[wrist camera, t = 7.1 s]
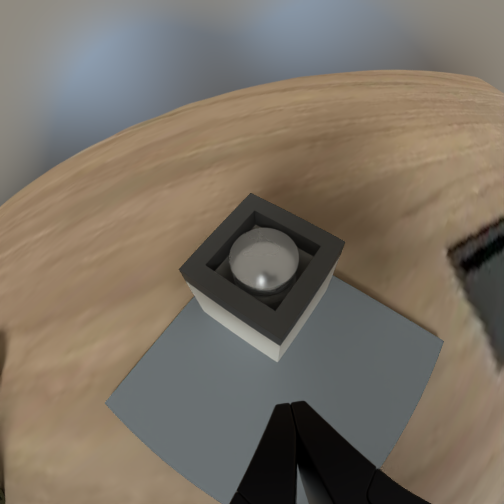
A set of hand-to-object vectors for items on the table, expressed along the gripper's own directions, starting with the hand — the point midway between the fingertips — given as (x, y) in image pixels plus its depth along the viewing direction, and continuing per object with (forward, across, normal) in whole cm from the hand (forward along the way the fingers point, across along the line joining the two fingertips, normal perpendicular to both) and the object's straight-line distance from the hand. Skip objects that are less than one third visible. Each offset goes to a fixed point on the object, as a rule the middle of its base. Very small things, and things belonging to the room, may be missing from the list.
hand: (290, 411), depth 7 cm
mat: (+11, 0, +8) cm, 13 cm away
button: (+14, 0, +2) cm, 14 cm away
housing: (+16, 0, +3) cm, 16 cm away
